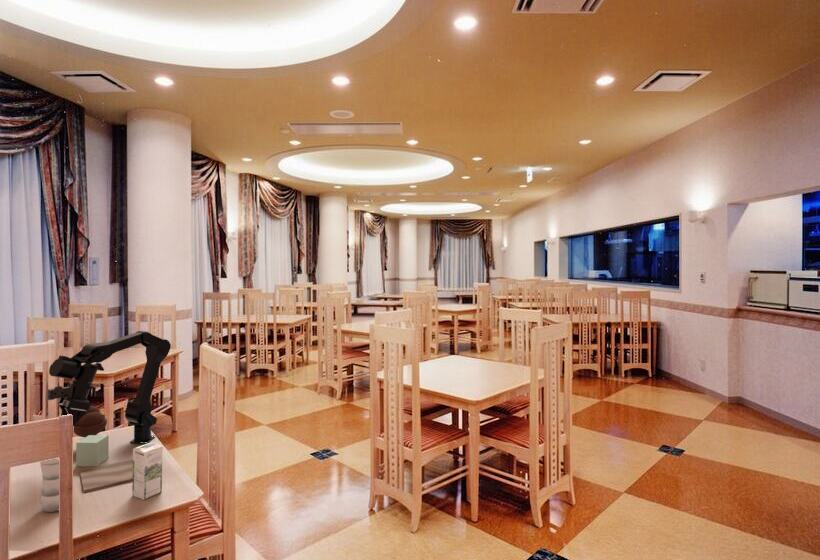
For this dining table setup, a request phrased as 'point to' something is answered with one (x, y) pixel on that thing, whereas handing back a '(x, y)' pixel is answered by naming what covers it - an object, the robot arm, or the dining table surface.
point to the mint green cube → (92, 450)
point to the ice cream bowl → (90, 423)
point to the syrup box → (147, 470)
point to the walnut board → (107, 475)
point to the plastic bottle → (50, 485)
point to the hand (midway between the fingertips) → (63, 429)
